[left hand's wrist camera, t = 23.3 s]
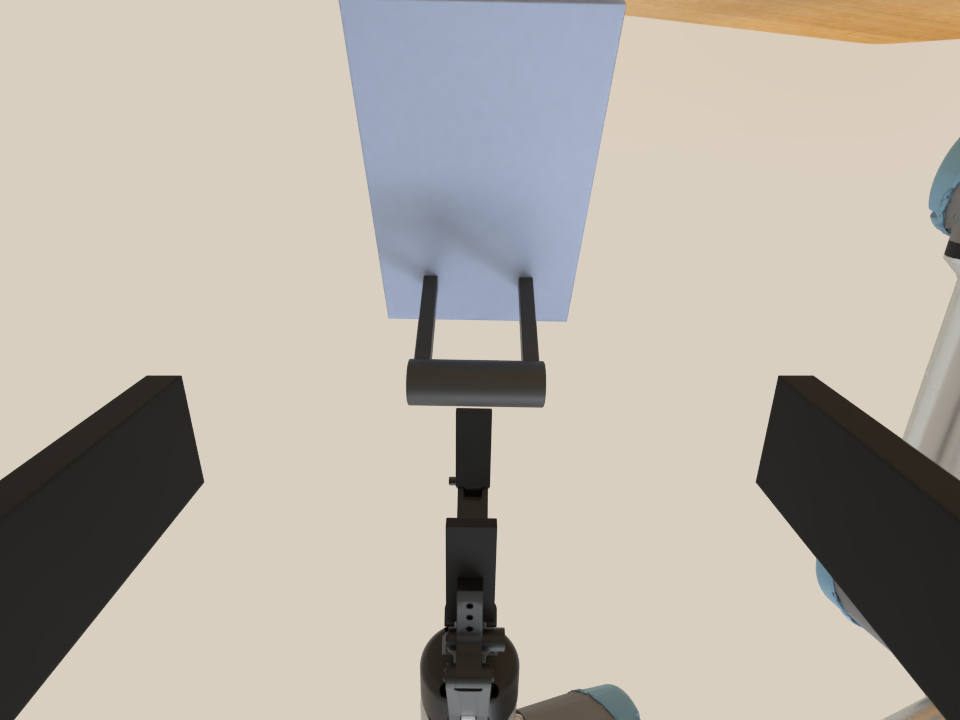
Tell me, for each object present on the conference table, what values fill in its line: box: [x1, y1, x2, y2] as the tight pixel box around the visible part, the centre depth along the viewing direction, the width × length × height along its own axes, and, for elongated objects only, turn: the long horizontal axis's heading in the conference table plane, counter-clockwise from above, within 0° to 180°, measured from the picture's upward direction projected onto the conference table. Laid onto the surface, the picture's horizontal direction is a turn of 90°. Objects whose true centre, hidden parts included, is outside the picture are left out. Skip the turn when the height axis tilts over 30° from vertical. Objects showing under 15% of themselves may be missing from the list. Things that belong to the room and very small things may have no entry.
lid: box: [339, 0, 626, 408], centre depth 22 cm, size 15×10×8 cm
